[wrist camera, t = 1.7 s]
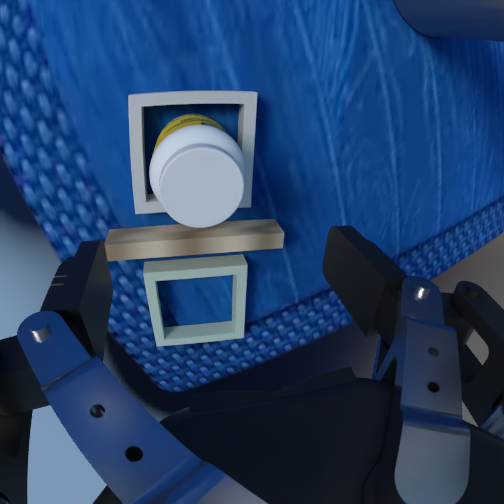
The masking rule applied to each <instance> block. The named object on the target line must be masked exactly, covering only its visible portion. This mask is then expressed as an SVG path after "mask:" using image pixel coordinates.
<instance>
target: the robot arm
mask: <svg viewBox="0 0 504 504" xmlns="http://www.w3.org/2000/svg"><path fill="white" fill-rule="evenodd" d="M394 1H395V3H396V6H397V8H398V10H399V12H400V13H401V15H402V17H403V18H404V19H405V20H406V21H407V23H408V24H409V25H410V26H411V27H412V28H414V29H415V30H416V31H418V32H419V33H421V34H424V35H426V36H431V37H455V38H469V39H481V40H491V41H499V42H504V0H394ZM323 274H324V277H325V279H326V280H327V282H328V283H329V285H330V286H331V288H332V289H333V290H334V292H335V293H336V295H337V296H338V298H339V299H340V300H341V302H342V303H343V305H344V306H345V308H346V309H347V310H348V312H349V313H350V315H351V316H352V318H353V319H354V321H355V322H356V323H357V325H358V327H359V328H360V329H361V331H362V332H363V334H364V335H365V337H369V336H373V335H377V334H379V335H380V336H381V337H380V340H379V342H378V345H377V351H376V357H375V363H374V367H373V373H372V378H371V379H367V378H356V376H355V374H354V373H353V371H352V369H351V368H350V367H348V368H344V369H340V370H336V371H332V372H327V373H323V374H318V375H314V376H312V377H311V378H308V379H306V380H304V381H302V382H300V383H298V384H295V385H293V386H291V387H289V388H287V389H284V390H282V391H279V392H256V391H238V390H228V391H219V392H211V393H202V394H192V395H188V401H189V407H188V408H185V409H182V410H180V411H178V412H175V413H173V414H171V415H170V416H168V417H166V418H164V419H163V420H161V421H160V422H158V421H157V420H156V419H155V418H154V417H153V416H152V415H151V414H150V413H149V412H148V411H147V410H146V409H145V408H144V407H143V406H142V405H141V404H140V403H139V402H138V401H137V400H136V399H135V398H134V397H133V396H132V395H131V394H130V392H129V391H128V390H127V389H126V388H125V387H124V386H123V385H122V384H121V383H120V382H119V380H118V379H117V378H116V377H115V376H114V375H113V374H112V373H111V371H110V370H109V369H108V368H107V367H106V366H105V365H104V363H103V356H104V348H105V341H106V334H107V327H108V320H109V314H110V308H111V302H112V295H113V288H112V279H111V274H110V270H109V265H108V260H107V255H106V249H105V245H104V242H103V240H96V241H84V242H81V243H80V246H79V248H78V250H77V253H76V255H75V257H68V258H67V259H66V260H65V261H64V262H63V263H62V264H61V265H60V266H59V267H58V270H57V272H56V274H55V278H53V281H52V283H51V286H50V288H49V290H48V293H47V295H46V297H45V300H44V302H43V305H42V307H41V310H40V312H37V313H34V314H32V315H30V316H29V317H27V318H26V319H25V320H24V321H23V322H22V323H21V324H20V326H19V328H18V331H17V335H16V336H13V337H9V338H5V339H2V340H0V504H27V471H28V451H29V439H30V428H31V419H32V411H33V409H37V408H41V407H44V406H48V405H51V407H52V408H53V410H54V412H55V413H56V415H57V417H58V418H59V420H60V421H61V423H62V424H63V426H64V428H65V429H66V431H67V432H68V434H69V435H70V436H71V438H72V439H73V441H74V442H75V443H76V445H77V447H78V448H79V449H80V451H81V452H82V453H83V455H84V456H85V458H86V459H87V460H88V462H89V463H90V464H91V466H92V467H93V468H94V469H95V471H96V472H97V473H98V474H99V476H100V477H101V478H102V479H103V481H104V482H105V483H106V484H107V486H106V487H105V488H104V490H103V491H102V492H101V494H100V495H99V496H98V497H97V499H96V500H95V501H94V502H93V504H504V310H503V309H502V308H501V307H500V306H499V304H497V302H496V301H495V300H494V299H492V297H491V296H490V295H489V294H488V293H487V292H486V291H485V290H484V289H483V288H481V287H480V286H478V285H477V284H475V283H472V282H469V281H461V282H459V283H458V284H457V286H456V288H455V291H454V293H453V294H452V293H441V292H440V290H439V288H438V287H437V286H436V285H435V284H434V283H433V282H431V281H429V280H428V279H425V278H422V277H419V276H407V275H406V274H405V273H404V272H403V271H402V270H401V269H400V268H399V267H398V266H397V265H396V264H395V263H394V262H393V261H392V260H391V259H389V257H388V256H387V255H386V254H385V253H383V251H382V250H381V249H380V248H379V247H378V246H377V245H375V244H374V243H372V242H371V241H369V240H367V239H365V238H364V237H363V236H362V235H361V234H360V233H359V232H358V231H357V230H356V229H355V228H353V227H352V226H333V227H331V228H330V230H329V233H328V238H327V243H326V249H325V254H324V259H323ZM474 329H475V331H477V333H478V334H479V335H480V336H481V338H482V339H483V340H484V341H485V343H486V344H487V346H488V348H489V356H488V358H487V360H486V361H485V363H484V364H483V366H482V365H481V363H480V362H479V361H478V359H477V358H476V357H475V355H474V354H473V353H472V351H471V350H470V349H469V347H468V346H467V345H466V343H467V341H468V339H469V338H470V336H471V334H472V332H473V331H474ZM462 401H463V403H464V404H465V406H466V407H467V409H468V410H469V412H470V414H471V415H472V417H473V419H474V420H475V422H476V423H477V425H478V427H476V426H475V425H472V424H470V423H468V422H466V421H464V420H463V419H462Z"/></svg>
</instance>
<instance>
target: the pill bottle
mask: <svg viewBox="0 0 504 504" xmlns="http://www.w3.org/2000/svg"><path fill="white" fill-rule="evenodd" d="M149 176H150V184H151V187H152V190H153V193H154V194H155V196H156V198H157V199H158V201H159V202H160V203H161V204H162V205H163V207H164V209H165V210H166V212H167V213H168V214H169V215H170V216H171V217H172V218H173V219H174V220H176V221H177V222H179V223H181V224H183V225H186V226H189V227H195V228H205V227H211V226H214V225H217V224H219V223H221V222H223V221H225V220H226V219H227V218H229V217H230V216H231V215H232V214H233V213H234V212H235V211H236V209H237V208H238V206H239V204H240V202H241V200H242V197H243V193H244V181H245V176H246V165H245V159H244V156H243V154H242V151H241V149H240V147H239V146H238V144H237V143H236V141H235V140H234V139H233V138H232V137H231V136H230V135H229V134H228V133H227V132H226V131H225V130H224V129H223V128H222V127H221V126H220V125H219V124H218V123H217V122H216V121H214V120H213V119H211V118H209V117H207V116H204V115H200V114H187V115H183V116H180V117H177V118H175V119H174V120H172V121H171V122H169V123H168V124H167V125H166V126H165V127H164V129H163V130H162V131H161V133H160V135H159V137H158V139H157V142H156V145H155V149H154V152H153V156H152V159H151V163H150V170H149Z"/></svg>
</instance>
